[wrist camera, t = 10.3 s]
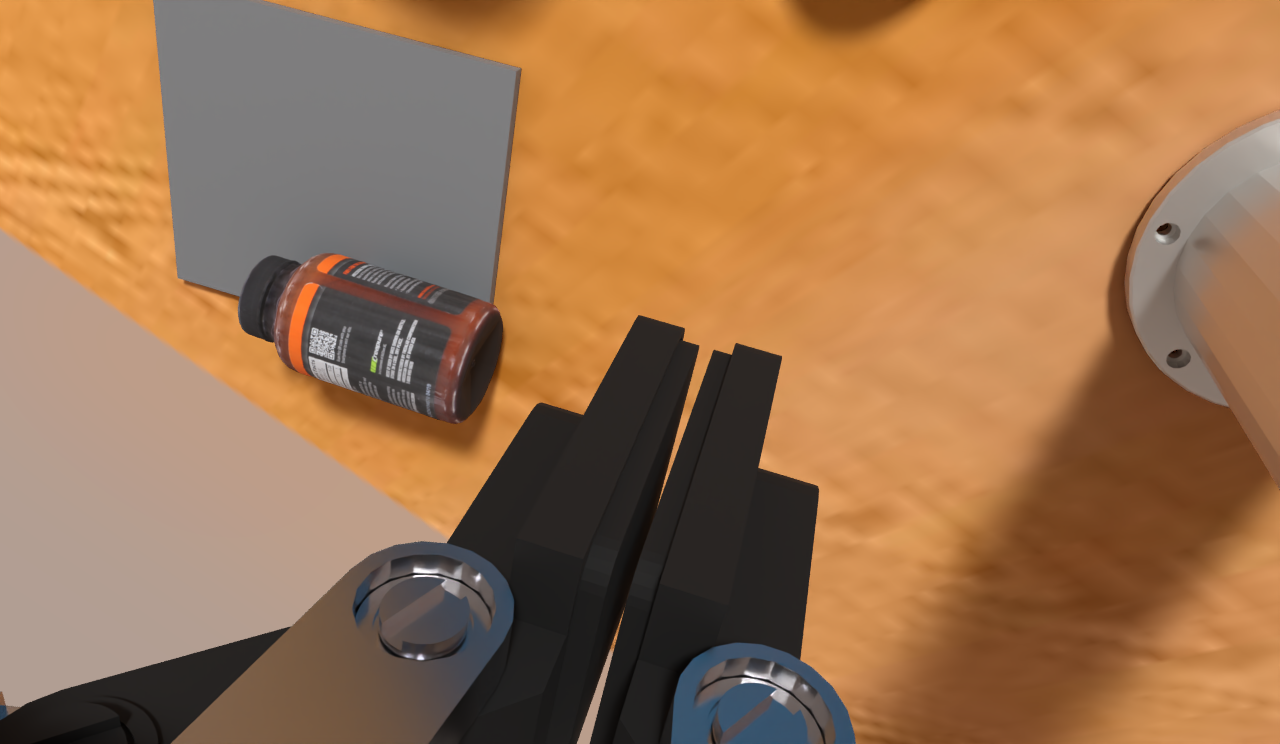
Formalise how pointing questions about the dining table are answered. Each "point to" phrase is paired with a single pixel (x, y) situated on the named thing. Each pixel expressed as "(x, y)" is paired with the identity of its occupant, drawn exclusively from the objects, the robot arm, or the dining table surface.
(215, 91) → the mat
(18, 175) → the dining table surface
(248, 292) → the supplement bottle
